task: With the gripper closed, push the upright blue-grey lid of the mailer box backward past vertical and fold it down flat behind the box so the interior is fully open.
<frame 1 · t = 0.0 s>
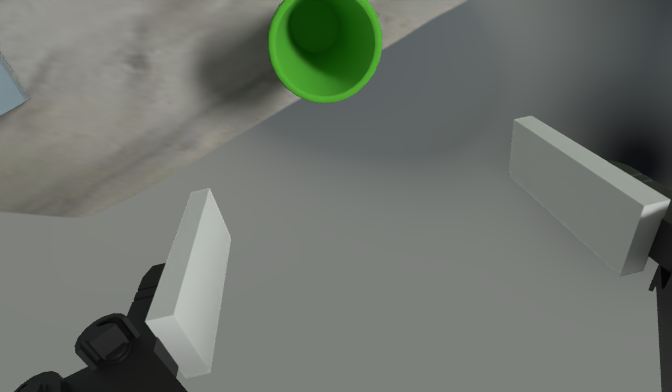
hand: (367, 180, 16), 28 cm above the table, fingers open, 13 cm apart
cup: (313, 26, 39), on the table
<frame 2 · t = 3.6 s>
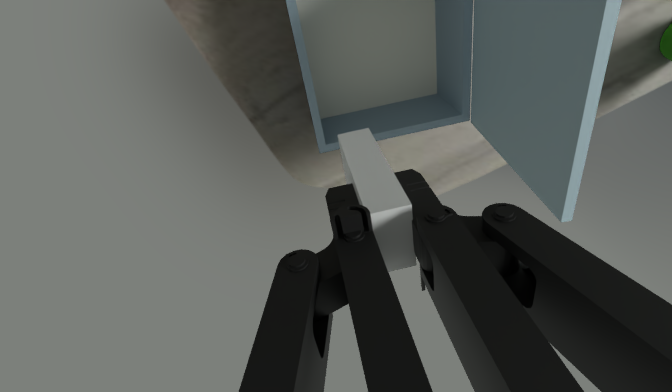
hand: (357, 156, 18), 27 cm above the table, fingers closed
box: (368, 32, 40), on the table
lid: (520, 49, 27), point 17 cm above the table, hinge at 85.0°
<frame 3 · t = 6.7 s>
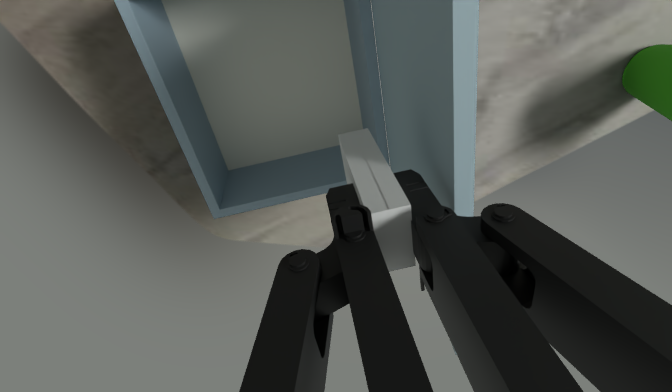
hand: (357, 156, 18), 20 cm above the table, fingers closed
box: (275, 73, 35), on the table
cup: (643, 69, 40), on the table
lid: (410, 119, 21), point 17 cm above the table, hinge at 85.5°, touching gripper
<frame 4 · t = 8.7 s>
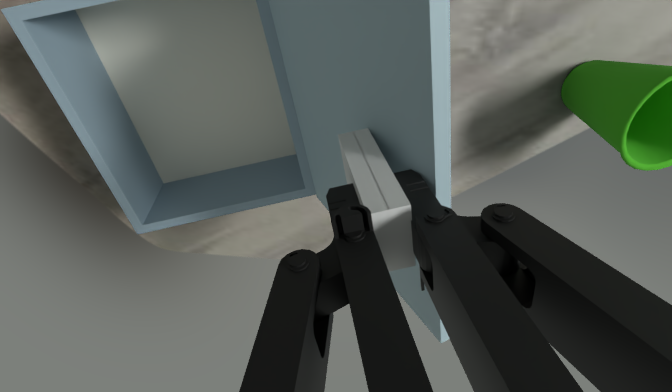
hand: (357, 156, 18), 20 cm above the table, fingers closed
box: (204, 87, 35), on the table
cup: (582, 84, 40), on the table
lid: (346, 129, 21), point 16 cm above the table, hinge at 107.1°, touching gripper
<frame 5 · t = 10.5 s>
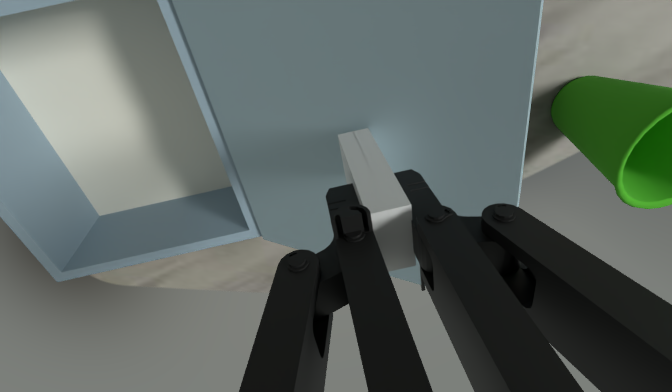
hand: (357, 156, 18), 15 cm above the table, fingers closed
box: (137, 110, 30), on the table
cup: (575, 102, 35), on the table
lid: (341, 138, 19), point 13 cm above the table, hinge at 142.2°, touching gripper
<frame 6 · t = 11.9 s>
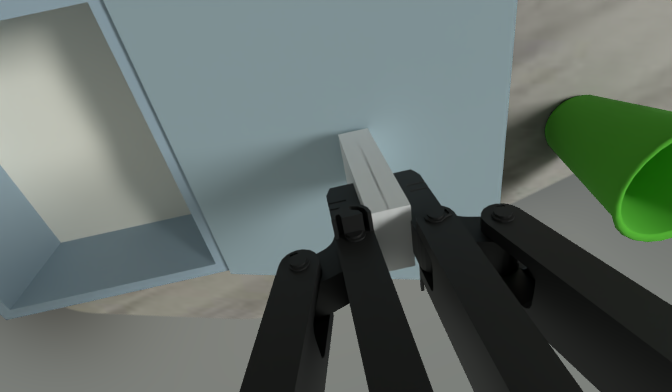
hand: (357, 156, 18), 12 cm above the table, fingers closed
box: (97, 132, 28), on the table
cup: (570, 121, 33), on the table
lid: (323, 148, 19), point 11 cm above the table, hinge at 160.7°, touching gripper
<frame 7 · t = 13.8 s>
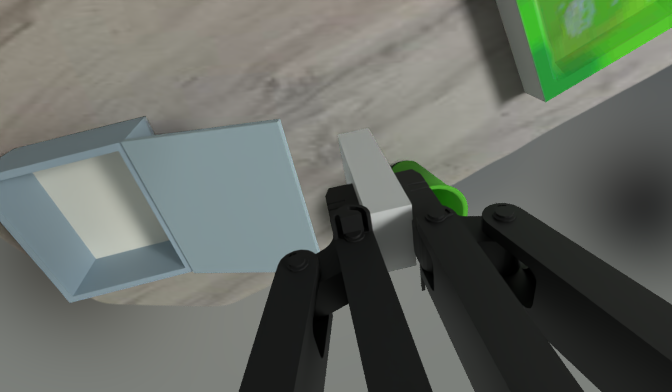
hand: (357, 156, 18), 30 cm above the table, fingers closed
box: (118, 195, 49), on the table
cup: (404, 175, 54), on the table
lid: (229, 209, 40), point 11 cm above the table, hinge at 160.7°
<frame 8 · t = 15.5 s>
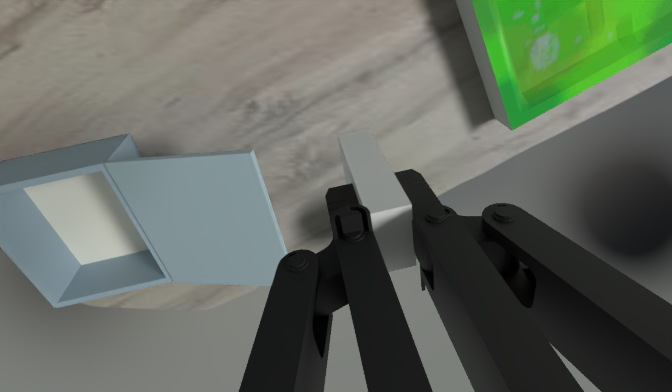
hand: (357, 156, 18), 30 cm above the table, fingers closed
box: (103, 206, 51), on the table
lid: (207, 227, 42), point 11 cm above the table, hinge at 160.7°
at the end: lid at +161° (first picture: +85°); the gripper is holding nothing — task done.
